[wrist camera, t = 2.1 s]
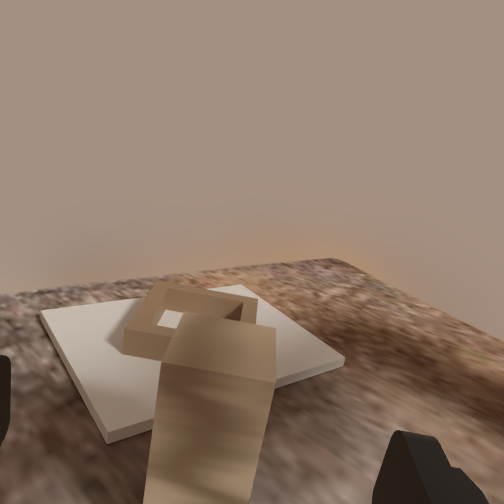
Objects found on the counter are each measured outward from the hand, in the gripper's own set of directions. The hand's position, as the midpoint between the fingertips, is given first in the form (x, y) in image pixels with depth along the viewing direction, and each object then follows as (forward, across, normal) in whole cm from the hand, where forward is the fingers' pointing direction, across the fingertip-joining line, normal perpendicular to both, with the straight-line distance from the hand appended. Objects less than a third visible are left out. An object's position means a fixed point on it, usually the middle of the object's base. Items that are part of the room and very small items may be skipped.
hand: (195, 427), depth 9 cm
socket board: (+31, +3, +16) cm, 35 cm away
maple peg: (+12, 0, +16) cm, 20 cm away
